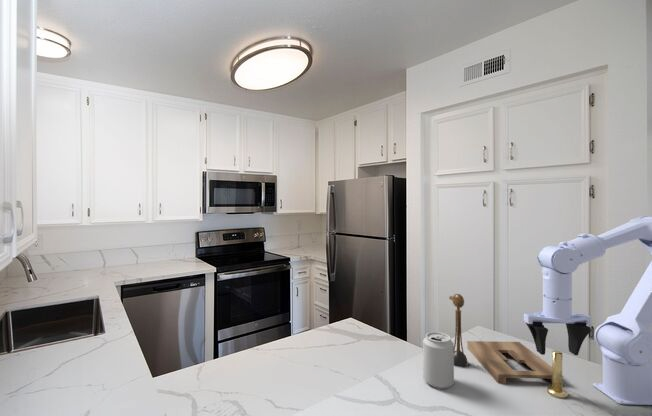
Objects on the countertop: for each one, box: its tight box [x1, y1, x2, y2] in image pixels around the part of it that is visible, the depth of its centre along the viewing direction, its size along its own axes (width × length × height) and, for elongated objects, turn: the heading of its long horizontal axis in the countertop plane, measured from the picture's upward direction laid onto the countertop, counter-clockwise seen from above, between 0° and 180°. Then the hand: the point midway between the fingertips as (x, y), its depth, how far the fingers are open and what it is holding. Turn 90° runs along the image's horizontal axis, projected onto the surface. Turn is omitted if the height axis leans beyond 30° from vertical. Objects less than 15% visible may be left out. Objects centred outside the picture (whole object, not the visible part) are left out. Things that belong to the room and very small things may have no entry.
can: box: [422, 331, 455, 389], centre depth 82 cm, size 8×8×12 cm
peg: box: [546, 350, 569, 400], centre depth 77 cm, size 4×4×10 cm
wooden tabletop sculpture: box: [448, 293, 468, 368], centre depth 92 cm, size 6×5×20 cm
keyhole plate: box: [466, 340, 564, 386], centre depth 91 cm, size 16×20×2 cm
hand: (557, 353), depth 77 cm, fingers open, 7 cm apart
